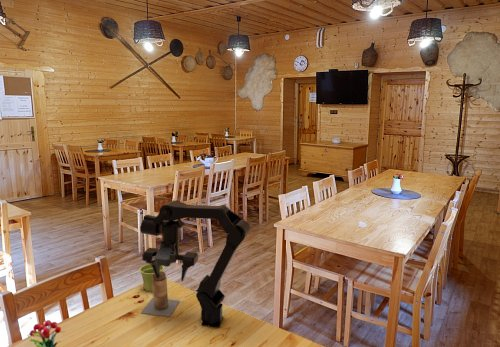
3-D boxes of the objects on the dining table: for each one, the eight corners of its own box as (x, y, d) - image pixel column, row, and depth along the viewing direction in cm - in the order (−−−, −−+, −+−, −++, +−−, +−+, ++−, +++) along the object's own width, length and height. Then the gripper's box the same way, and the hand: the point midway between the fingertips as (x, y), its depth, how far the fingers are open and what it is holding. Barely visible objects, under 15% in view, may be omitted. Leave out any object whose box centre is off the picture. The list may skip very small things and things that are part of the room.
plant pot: (158, 295, 151) (157, 274, 149) (135, 292, 152) (135, 271, 151) (167, 284, 160) (167, 264, 158) (146, 281, 162) (146, 262, 160)
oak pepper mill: (170, 303, 144) (168, 271, 141) (165, 310, 139) (163, 278, 136) (157, 301, 145) (155, 270, 142) (152, 309, 140) (149, 277, 137)
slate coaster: (180, 301, 147) (180, 300, 147) (169, 317, 136) (169, 316, 136) (152, 298, 148) (152, 297, 148) (140, 313, 138) (140, 312, 138)
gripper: (134, 243, 127) (135, 286, 130) (189, 249, 124) (188, 293, 127) (148, 231, 137) (148, 272, 140) (199, 237, 135) (198, 278, 138)
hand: (170, 279), depth 136 cm, fingers open, 9 cm apart
